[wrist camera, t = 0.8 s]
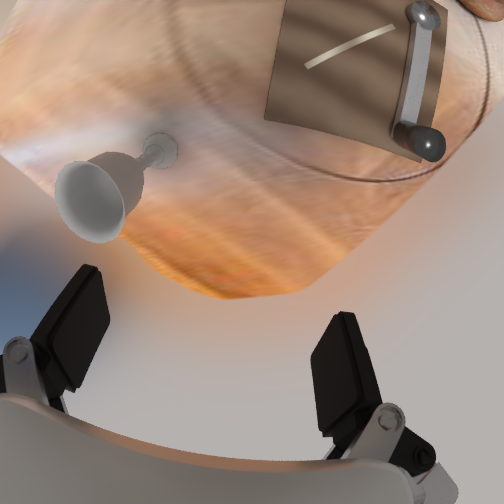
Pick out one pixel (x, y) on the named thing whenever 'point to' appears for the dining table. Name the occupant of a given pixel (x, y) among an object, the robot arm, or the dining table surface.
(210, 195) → the dining table surface
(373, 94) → the lever board
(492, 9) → the ceramic jug
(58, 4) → the dining table surface
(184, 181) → the dining table surface
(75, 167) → the chalice
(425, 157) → the lever
